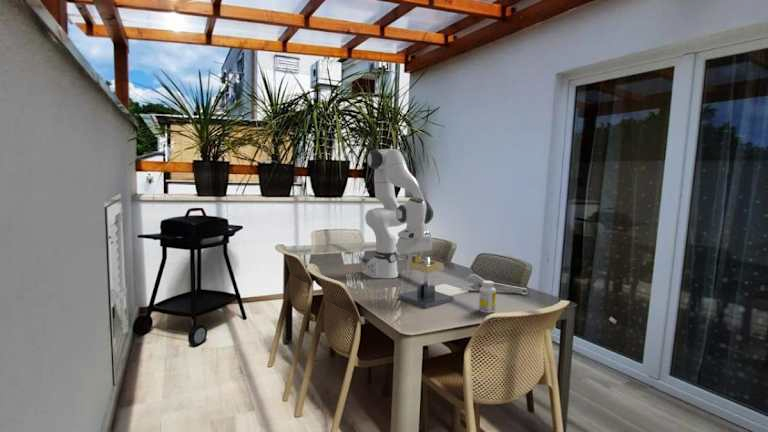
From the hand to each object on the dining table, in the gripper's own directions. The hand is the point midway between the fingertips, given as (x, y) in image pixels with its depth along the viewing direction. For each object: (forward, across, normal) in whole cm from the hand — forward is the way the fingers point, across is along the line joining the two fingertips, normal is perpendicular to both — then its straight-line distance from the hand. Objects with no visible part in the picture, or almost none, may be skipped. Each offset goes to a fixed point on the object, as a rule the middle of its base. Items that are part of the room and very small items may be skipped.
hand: (414, 261), depth 199 cm
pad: (+17, -18, +4) cm, 25 cm away
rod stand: (+17, 0, +8) cm, 19 cm away
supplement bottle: (+16, -10, +36) cm, 40 cm away
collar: (+2, 0, +6) cm, 6 cm away
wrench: (+17, -38, +21) cm, 47 cm away
